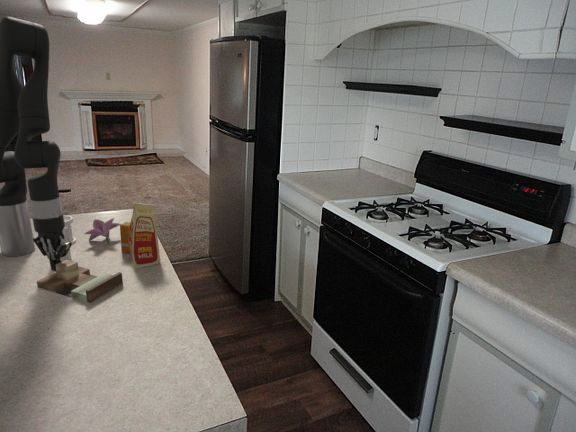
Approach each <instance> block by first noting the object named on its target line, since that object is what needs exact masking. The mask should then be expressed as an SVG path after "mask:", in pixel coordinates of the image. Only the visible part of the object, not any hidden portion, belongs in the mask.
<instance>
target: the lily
mask: <svg viewBox="0 0 576 432" xmlns="http://www.w3.org/2000/svg"><path fill="white" fill-rule="evenodd" d="M114 220H115V217H113V218H111V219H109V220H107V221H105V222H104V221H103V220H100V219H94V220H93V222H92V228H93V229H89V230H87V231H86V232H84V234H83V235H89V238H88V242H91V241H93V240H94V239H96V238H98V237H99V236H102V237H105V239H106V242H107V244H108V245H109V246H110V242H109V239H108V238H110V231H111V230H113V229H116V228H117V227H120V225H121V224H122V223H118V222H114Z"/></svg>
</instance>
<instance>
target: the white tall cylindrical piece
mask: <svg viewBox="0 0 576 432" xmlns="http://www.w3.org/2000/svg"><path fill="white" fill-rule="evenodd" d="M63 217H64V223H65V227H64V229H63V231H62V232H63V235H64V240H65V241H66V242H67V243H68V242H71V244H72V246H74V245H76V243H77V239H76V237H74V236H73V229H72V225H71V224H72V223H73V222H74V218H73V216H71V215H63ZM65 220H66V221H65ZM65 260H71V261H72V254H71V248H70V249H69V251H68V253H67V255H66V256H65V257H62V258H61V262H63V261H65Z"/></svg>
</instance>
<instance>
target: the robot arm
mask: <svg viewBox="0 0 576 432" xmlns="http://www.w3.org/2000/svg"><path fill="white" fill-rule="evenodd" d="M14 56H20V57H23V58H28V59H33V61H34V62H33V63H34V65H33V71H32V73H31V75H30V77H29V79H28V80H27V81H26V82H25V84H24V86H23V85H22V82H21V81H20V79H19V77H18V76H17V73H16V70H15V67H14ZM49 67H50V37H49V32H48V30H47V29H46V27H45V26H43V25H41V24H40V23H36V22H33V21H29V20H26V19H25V20H23V19H19V18H17V17H16V18H15V17H12V16H4V17H3V18H2V19H1V20H0V184H3V183H4V184H3V186H2V187H1V188H0V252H1V253H2V254H3V256H6V257H20V256H24V255H28V254H30V253H33V252H34V251H35V250H36V247H37V249H38V250H39V251H40V253H41V254H42V256H44V257H47V259H48V260H49V265H50V269H51V271H53V272H56V264H58V263H61V262H62V261H61V258H62V257H65V256H66V255H67V253H68V251H69V249H70V250H71V247H72V246H73V245H72V244H71V242H68V243H67V242H66V241H65V240H64V235H63V232H62V231H63V229H64V227H65V223H64V221H65V219H64V217H63V216H64V211H63V203H62V201H61V198H60V191H59V185H58V172H59V166H60V162H61V149H60V147H59V145H58V144H57V143H56V142H55V141H52V140H42V141H41V140H37V141H36V140H35V141H31V140H32V139H33V138H34V137H35V136H39V135H43V134H46V133H49V132H50V130H51V129H50V128H51V121H50V112H49V105H48V104H49V103H48V102H49V101H48V100H49V99H48V90H49V89H48V88H49V86H48V85H49V72H50V69H49ZM16 136H17V140H16V143H15V146H14V147H15V148H14V151H13V150H11V151H10V150H9V151H6V150H7V148H8V146H9V145H10V143H11V142H12V141H13V140H14V139H15V138H16ZM43 168H44V169H45V168H47V170H46V172H44V173H43V174H40V175H35V176H32V177H30V178H29V179H28V180H27V179H26V178H27V177H26V169H43ZM28 194H29V195H28ZM27 195H28V196H29V201H30V210H29V205H28V200H27ZM30 212H31V216H30ZM31 217H32V221H31ZM31 222H33V223H31ZM32 224H33V228H34V229H33V228H32ZM33 230H34V231H35V233H37V236H36V237H34V233H33ZM35 245H36V246H35Z"/></svg>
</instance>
